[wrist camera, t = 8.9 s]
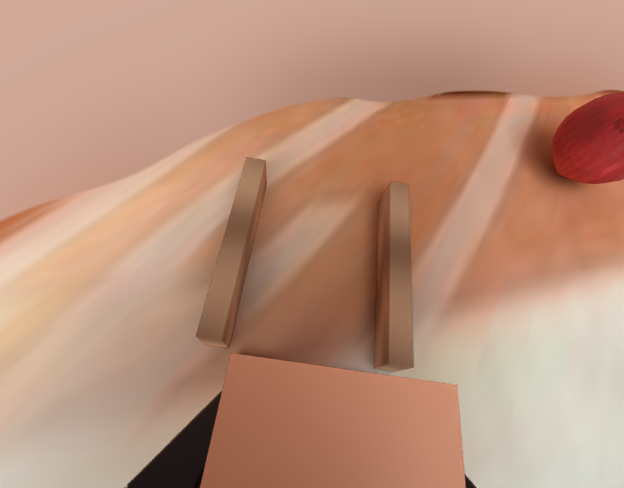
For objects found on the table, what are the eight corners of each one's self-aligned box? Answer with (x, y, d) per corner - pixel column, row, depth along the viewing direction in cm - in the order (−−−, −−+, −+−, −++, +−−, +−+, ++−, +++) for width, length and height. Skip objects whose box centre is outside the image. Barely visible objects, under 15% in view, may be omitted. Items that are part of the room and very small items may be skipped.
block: (335, 501, 13) (488, 753, 4) (239, 489, 13) (146, 721, 4) (342, 395, 15) (456, 384, 6) (258, 384, 15) (230, 352, 5)
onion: (611, 199, 25) (747, 119, 18) (550, 208, 24) (669, 125, 17) (571, 144, 27) (676, 53, 20) (514, 149, 26) (604, 55, 19)
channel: (395, 371, 17) (413, 367, 15) (206, 344, 17) (195, 336, 15) (395, 205, 22) (408, 184, 20) (249, 181, 22) (246, 157, 20)
